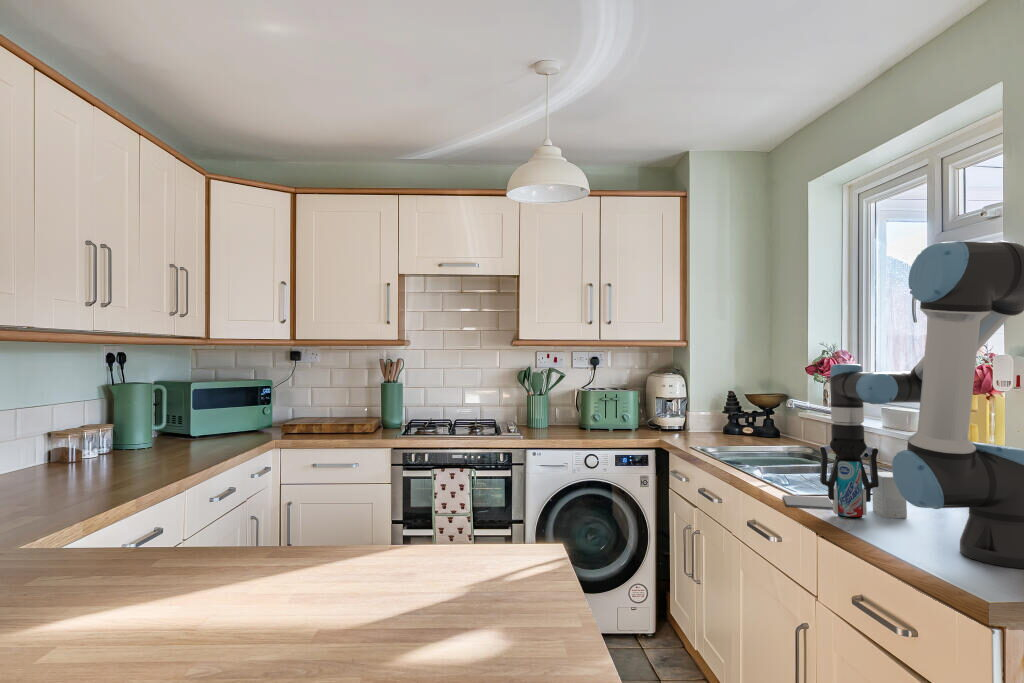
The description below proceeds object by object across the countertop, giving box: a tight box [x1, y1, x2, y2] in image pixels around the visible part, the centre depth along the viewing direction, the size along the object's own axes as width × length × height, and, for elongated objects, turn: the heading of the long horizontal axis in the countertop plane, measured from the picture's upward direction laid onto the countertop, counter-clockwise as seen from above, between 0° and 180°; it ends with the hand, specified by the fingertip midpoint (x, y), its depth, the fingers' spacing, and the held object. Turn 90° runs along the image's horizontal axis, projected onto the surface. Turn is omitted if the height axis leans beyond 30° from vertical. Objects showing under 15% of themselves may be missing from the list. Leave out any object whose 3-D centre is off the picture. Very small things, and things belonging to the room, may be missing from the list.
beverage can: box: [835, 458, 864, 520], centre depth 165 cm, size 6×6×15 cm
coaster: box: [782, 494, 833, 510], centre depth 181 cm, size 12×12×1 cm
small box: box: [871, 471, 908, 519], centre depth 167 cm, size 8×6×10 cm
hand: (849, 513), depth 165 cm, fingers closed on beverage can, 6 cm apart
